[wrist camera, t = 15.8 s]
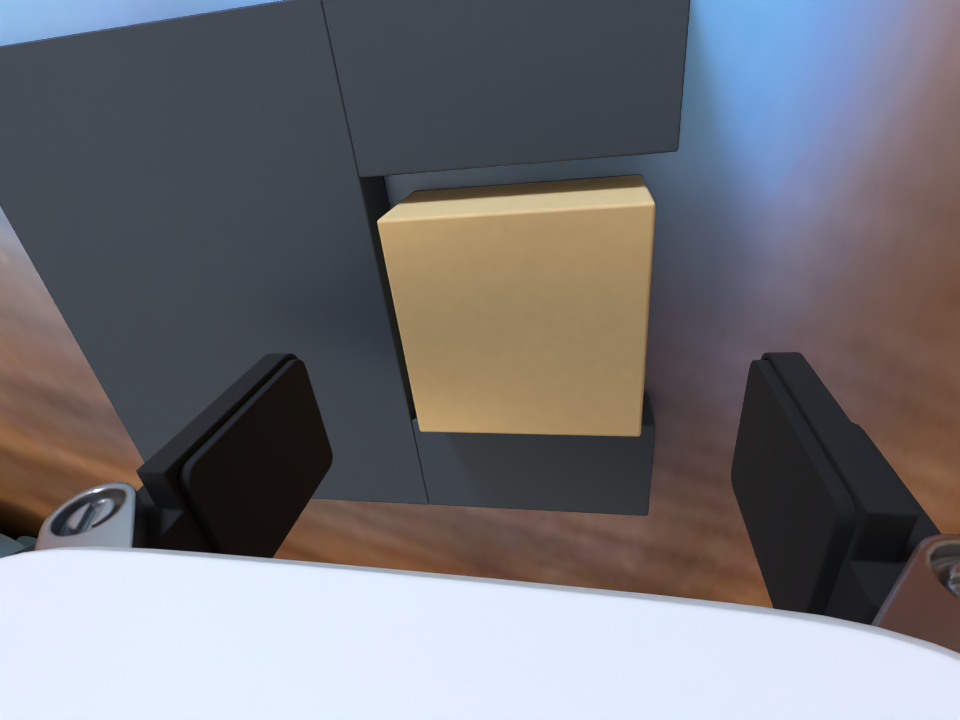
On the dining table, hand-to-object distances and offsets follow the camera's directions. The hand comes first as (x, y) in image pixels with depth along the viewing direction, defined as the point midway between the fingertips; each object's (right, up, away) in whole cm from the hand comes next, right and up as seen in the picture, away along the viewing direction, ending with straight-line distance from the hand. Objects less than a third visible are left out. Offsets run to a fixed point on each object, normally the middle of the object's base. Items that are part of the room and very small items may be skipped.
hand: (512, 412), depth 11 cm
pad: (+1, +3, +5) cm, 6 cm away
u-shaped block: (-5, +3, +7) cm, 9 cm away
